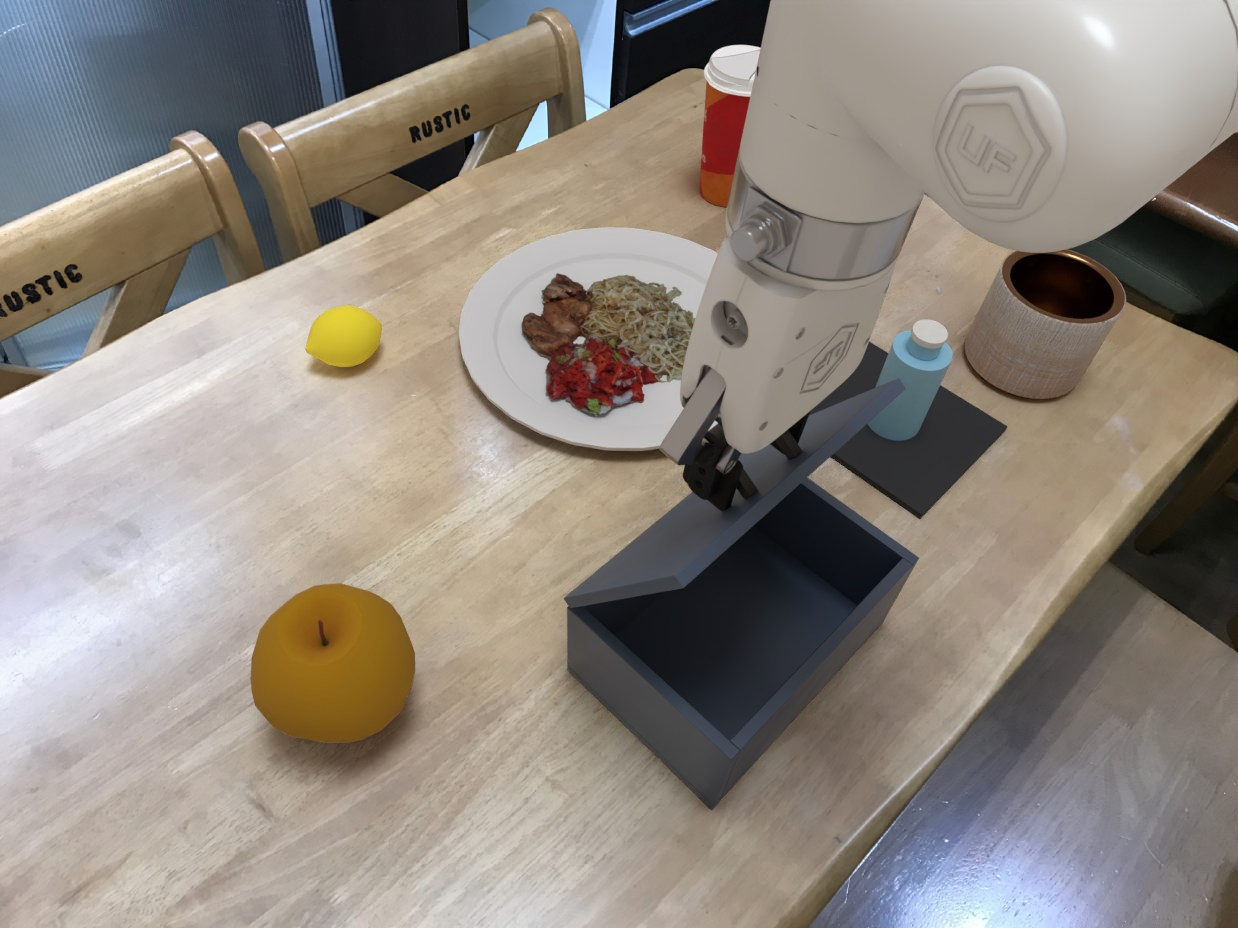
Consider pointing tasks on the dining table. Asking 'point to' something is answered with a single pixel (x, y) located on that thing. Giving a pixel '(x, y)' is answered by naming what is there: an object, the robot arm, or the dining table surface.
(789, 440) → the lid
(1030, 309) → the planter
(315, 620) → the apple
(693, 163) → the dining table surface
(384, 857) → the dining table surface
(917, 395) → the bottle
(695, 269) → the plated food
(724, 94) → the coffee cup
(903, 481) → the mat
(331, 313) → the lemon
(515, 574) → the dining table surface
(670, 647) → the chest
